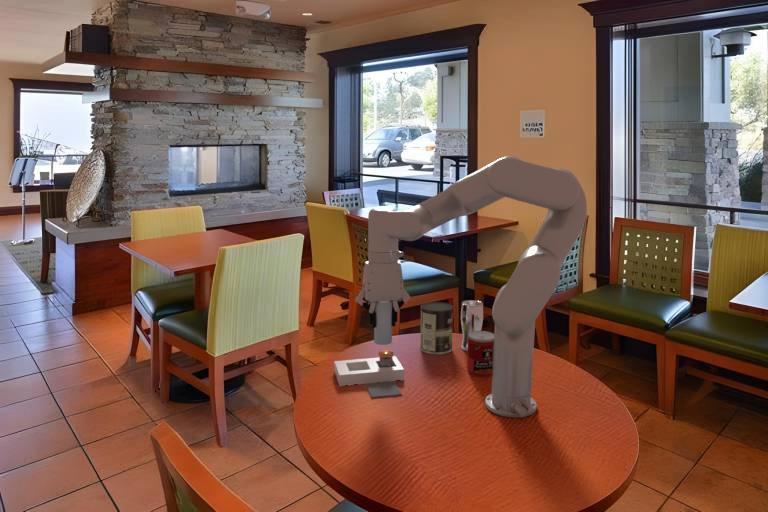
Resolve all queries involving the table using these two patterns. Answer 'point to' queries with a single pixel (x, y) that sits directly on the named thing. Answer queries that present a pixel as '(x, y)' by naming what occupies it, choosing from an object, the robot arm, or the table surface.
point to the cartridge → (383, 323)
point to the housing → (367, 371)
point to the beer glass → (470, 319)
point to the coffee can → (436, 327)
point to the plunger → (385, 358)
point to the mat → (383, 389)
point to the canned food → (480, 353)
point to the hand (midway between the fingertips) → (383, 325)
